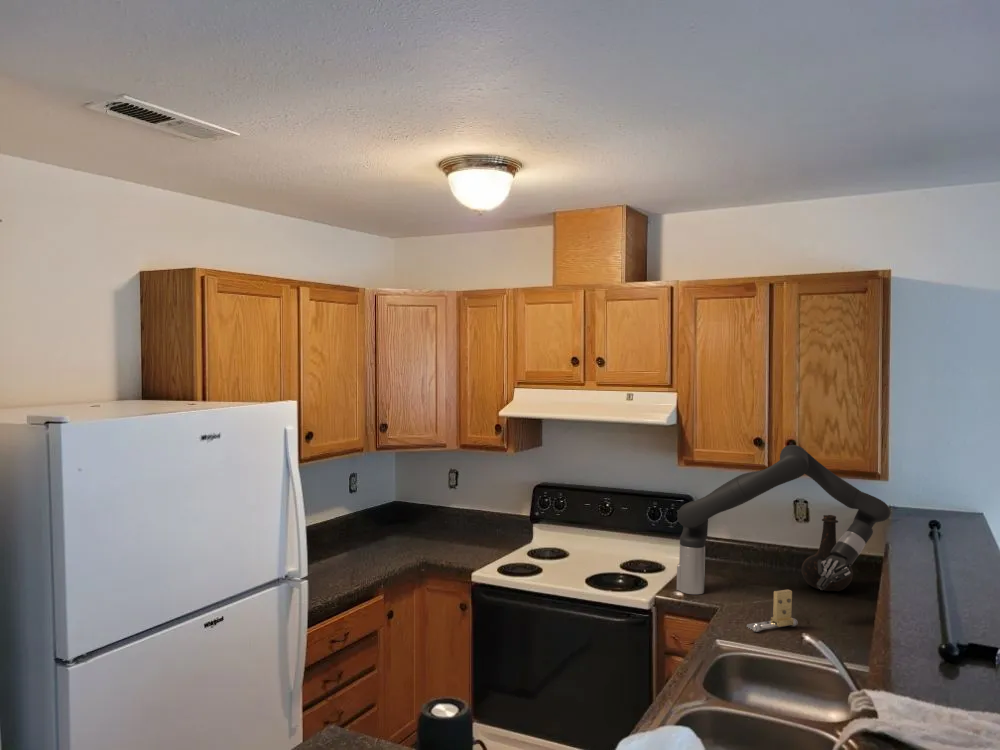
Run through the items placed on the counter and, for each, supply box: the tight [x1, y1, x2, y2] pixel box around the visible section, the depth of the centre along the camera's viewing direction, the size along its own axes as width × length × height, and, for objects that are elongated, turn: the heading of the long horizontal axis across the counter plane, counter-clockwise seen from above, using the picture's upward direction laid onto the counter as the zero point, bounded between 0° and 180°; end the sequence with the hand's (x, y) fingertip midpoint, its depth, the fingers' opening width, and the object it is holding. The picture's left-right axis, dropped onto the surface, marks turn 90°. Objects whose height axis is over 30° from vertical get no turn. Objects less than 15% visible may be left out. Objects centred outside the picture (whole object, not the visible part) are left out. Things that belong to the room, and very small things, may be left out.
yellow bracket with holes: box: [770, 589, 794, 628], centre depth 241 cm, size 6×4×11 cm, turn 112°
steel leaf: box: [746, 617, 799, 633], centre depth 241 cm, size 17×6×3 cm, turn 112°
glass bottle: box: [801, 514, 854, 592], centre depth 285 cm, size 18×18×28 cm
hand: (819, 587), depth 246 cm, fingers closed
